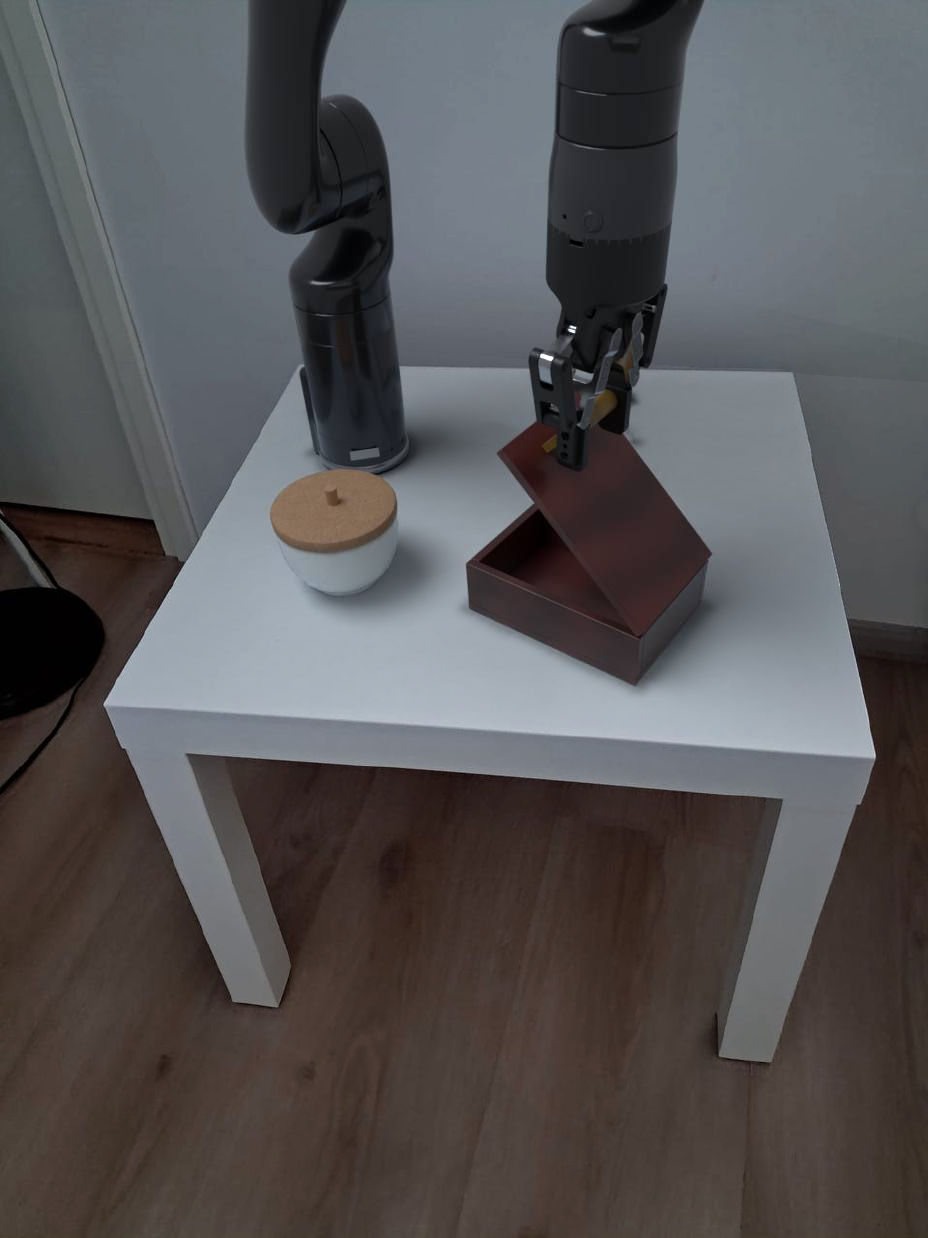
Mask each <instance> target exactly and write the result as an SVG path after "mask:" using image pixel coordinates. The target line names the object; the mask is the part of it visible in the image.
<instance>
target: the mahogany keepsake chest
mask: <svg viewBox="0 0 928 1238" xmlns="http://www.w3.org/2000/svg"><path fill="white" fill-rule="evenodd" d="M708 564H709V559H708V560H707V561H706V562H705V563H704V565H703V566H702V567H701V568H700V569H699V570H698V571H697V573H696V574H695V575H694V576H693V577H692V578H691V580H690V581H689V582H688V583H687V584H686V585H685V587H684V588H683V589H682V590H681V591H680V592H679V593H678V595H677V596H676V597H675V598H674V599H673V600H672V602H671V603H670V604H669V605H668V606H667V607H666V608H665V610H664V611H663V612H662V613H661V614H660V615H659V617H658V618H657V619H656V620H655V621H654V622H653V624H652V625H651V626H650V627H649V628H648V629H647V630H646V632H645V633H644V634H642V635H639V636H636V635H635V634H634V632H633V631H632V630H631V629H630V627H629V626H628V625H627V623H626V622H625V621H624V619H623V618H622V617H621V615H620V614H619V613H618V612H617V610H616V609H615V608H614V606H613V605H612V604H611V602H610V601H609V600H608V599H607V597H606V596H605V595H604V593H603V592H602V591H601V589H600V588H599V587H598V585H597V584H596V583H595V582H594V580H593V579H592V578H591V576H590V575H589V574H588V572H587V571H586V570H585V568H584V567H583V566H582V565H581V563H580V562H579V561H578V559H577V558H576V557H575V555H574V554H573V553H572V552H571V550H570V549H569V548H568V546H567V545H566V544H565V542H564V541H563V540H562V538H561V537H560V536H559V535H558V533H557V532H556V531H555V529H554V528H553V527H552V525H551V524H550V523H549V522H548V520H547V519H546V518H545V516H544V515H543V514H542V512H541V511H540V510H539V508H538V507H537V506H536V505H535V503H534V502H533V503H532V504H531V505H530V506H529V507H527V509H526V510H524V512H522V513H521V514H520V515H519V516H518V517H516V518H515V519H514V520H513V521H512V522H511V523H509V525H507V527H505V528H504V529H503V530H502V531H501V532H500V533H499V534H497V535H495V537H494V538H493V539H492V540H491V541H489V542H488V543H487V544H485V546H483V548H481V549H480V550H479V551H478V552H476V554H475V555H473V556H472V557H471V558H470V559H469V560H468V561H466V563H465V570H466V584H467V585H466V586H467V598H468V599H467V600H468V609H469V610H471V611H473V612H476V613H478V614H480V615H482V616H484V617H486V618H488V619H491V620H493V621H494V622H497V623H499V624H502V625H504V626H505V627H508V628H510V629H512V630H514V631H516V632H518V633H521V634H523V635H525V636H527V637H529V638H532V639H533V640H535V641H537V642H541V643H542V644H544V645H546V646H549V647H550V648H553V649H555V650H557V651H559V652H561V653H563V654H566V655H567V656H570V657H572V658H574V659H577V660H579V661H580V662H583V663H585V664H587V665H589V666H591V667H594V668H595V669H598V670H600V671H602V672H605V674H608V675H610V676H612V677H615V678H616V679H619V680H622V681H623V682H626V683H627V684H630V685H631V686H634V687H636V686H637V684H638V683H639V682H640V681H641V680H642V678H643V677H644V676H645V675H646V673H647V672H648V671H649V670H650V669H651V668H652V666H653V665H654V664H655V663H656V662H657V660H658V659H659V658H660V657H661V656H662V654H663V653H664V652H665V650H666V649H667V648H668V647H669V646H670V644H671V643H673V642H674V640H675V639H676V637H677V636H678V635H679V633H681V631H682V630H683V629H684V627H686V625H687V624H688V623H689V622H690V620H691V619H692V618H693V617H694V616H695V614H696V613H697V612H698V610H699V609H700V608H702V604H703V598H704V590H705V585H706V578H707V571H708V566H709V565H708Z"/></svg>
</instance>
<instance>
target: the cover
mask: <svg viewBox="0 0 928 1238" xmlns="http://www.w3.org/2000/svg"><path fill="white" fill-rule="evenodd" d="M574 395H575V405H576V408H579V405H580V401H581V394H580V393H579V392H577V391H574ZM616 406H617V398H616V396H615V394H614V393H613V392H612V391H610V390H607V389H605V390H604V392H603V393H602V394H601V395H598V396H596V398H595V402H594V406H593V410H592V414H591V418H590V422H589V424H590V439H589V453H588V464H587V466H586V467H585V468H584V469H583V470H582V471H580V472H577V471H574V470H571V469H569V468H566V467H564V466H561V465H560V464H559V463H558V462H557V460H556V446H557V445H556V442H557V429H556V428H554V427H551V426H548V425H546V424H545V425H544V424H541V423H538V422H537V420H535V421H534V422H533V423H532V424H530V425H529V426H528V427H526V428H525V429H524V430H523V431H522V432H521V433H519V434H518V435H517V436H515V437H514V438H512V439H511V440H510V441H509V442H508V443H506V444H505V445H504V446H503V447H501V448H500V449H498V451H496V455H497V456H498V458H499V459H500V460H501V461H502V463H503V464H504V465H505V467H506V469H507V470H508V471H509V472H510V473H511V475H512V476H513V477H514V479H515V480H516V481H517V482H518V484H519V486H521V488H522V489H523V490H524V491H525V492H526V495H527V496H528V497H529V498H530V500H531V501H532V502H533V504H534V503H535V505H536V506H537V507H538V508H539V510H540V511H541V512H542V514H543V515H544V516H545V518H546V519H547V520H548V522H549V523H550V524H551V525H552V527H553V528H554V529H555V531H556V532H557V533H558V535H559V536H560V537H561V538H562V540H563V541H564V542H565V544H566V545H567V546H568V548H569V549H570V550H571V552H572V553H573V554H574V555H575V557H576V558H577V559H578V561H579V562H580V563H581V565H582V566H583V567H584V568H585V570H586V571H587V572H588V574H589V575H590V576H591V578H592V579H593V580H594V582H595V583H596V584H597V585H598V587H599V588H600V589H601V591H602V592H603V593H604V595H605V596H606V597H607V599H608V600H609V601H610V602H611V604H612V605H613V606H614V608H615V609H616V610H617V612H618V613H619V614H620V615H621V617H622V618H623V619H624V621H625V622H626V623H627V625H628V626H629V627H630V629H631V630H632V631H633V632H634V634H635V635H636V636H639V635H642V634H644V633H645V632H646V630H647V629H648V628H649V627H650V626H651V625H652V624H653V622H654V621H655V620H656V619H657V618H658V617H659V615H660V614H661V613H662V612H663V611H664V610H665V608H666V607H667V606H668V605H669V604H670V603H671V602H672V600H673V599H674V598H675V597H676V596H677V595H678V593H679V592H680V591H681V590H682V589H683V588H684V587H685V585H686V584H687V583H688V582H689V581H690V580H691V578H692V577H693V576H694V575H695V574H696V573H697V571H698V570H699V569H700V568H701V567H702V566H703V565H704V563H705V562H706V561H707V560H708V561H709V560H710V558H711V556H712V555H713V552H712V551H711V550H710V548H709V547H708V546H707V544H706V542H705V541H704V540H703V539H702V537H701V536H700V535H699V533H698V532H697V531H696V529H695V528H694V526H693V525H692V524H691V522H690V521H689V520H688V518H687V517H686V516H685V515H684V513H683V512H682V510H681V509H680V508H679V506H678V505H677V504H676V503H675V500H673V498H672V497H671V495H669V493H668V492H667V490H666V489H665V488H664V487H663V485H662V484H661V482H660V481H659V479H658V478H657V476H655V474H654V473H653V471H652V470H651V469H650V467H649V466H648V465H647V463H646V462H645V461H644V460H643V458H642V456H640V454H639V453H638V451H637V450H636V449H635V447H634V445H632V443H631V442H630V441H629V439H628V438H627V436H626V435H625V434H624V433H623V434H621V435H618V434H615V433H612V432H609V431H606V430H604V429H602V428H601V427H600V426H599V424H598V422H599V421H600V420H601V419H603V418H604V417H605V416H606V415H607V414H608V413H610V412H611V411H612V410H613V409H614V408H615V407H616Z"/></svg>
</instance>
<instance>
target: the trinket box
mask: <svg viewBox="0 0 928 1238" xmlns="http://www.w3.org/2000/svg"><path fill="white" fill-rule="evenodd" d="M398 518H399V517H398V499H397V495H396V492H395V490H394V488H393V487H392V486H391V485H390V483H389V482H387V480H385V479H384V478H383V477H380V476H379V475H377V474H372V473H369V472H365V471H360V470H353V469H337V470H330V469H328V470H323V471H319V472H314V473H311V474H308V475H305V476H303V477H301V478H299V479H296V480H295V481H293V482H292V483H290V484H288V485H287V486H286V487H284V488H283V489H282V490H281V491H280V492H279V493H278V494H277V496H276V497H275V498H274V500H273V502H272V504H271V506H270V510H269V521H270V524H271V526H272V529H273V532H274V533H275V538H276V540H277V541H276V542H277V544H278V547H279V550H280V553H281V554H282V556H283V558H284V561H285V563H286V564H287V566H288V567H289V569H290V570H291V572H292V573H293V574H294V575H295V576H296V577H297V578H298V579H299V580H300V581H302V582H303V583H304V584H305V585H307V586H308V587H311V588H313V589H316V590H318V591H319V592H321V593H323V594H325V595H329V596H331V597H350V596H355V595H358V594H360V593H363V592H365V591H367V590H368V589H370V588H372V586H374V585H375V584H376V582H377V581H378V579H379V578H381V577H382V576H383V575H384V573H386V571H387V570H388V568H389V567H390V565H391V563H392V562H393V559H394V557H395V555H396V550H397V547H398V542H399V541H398V540H399V519H398Z"/></svg>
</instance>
